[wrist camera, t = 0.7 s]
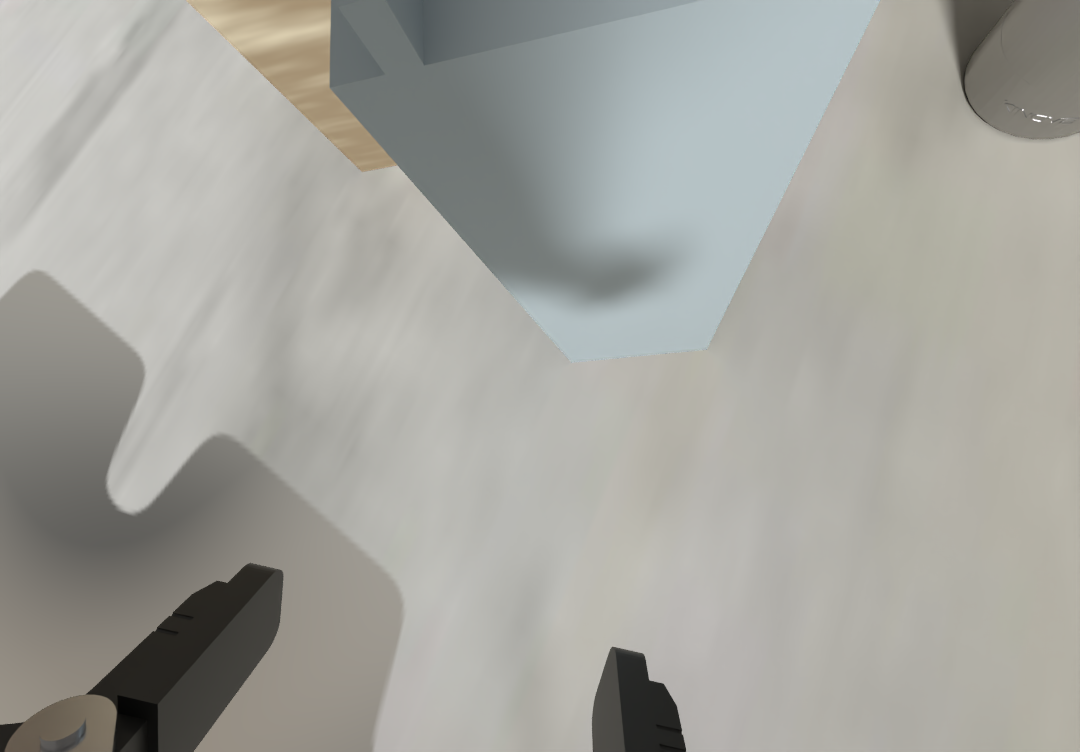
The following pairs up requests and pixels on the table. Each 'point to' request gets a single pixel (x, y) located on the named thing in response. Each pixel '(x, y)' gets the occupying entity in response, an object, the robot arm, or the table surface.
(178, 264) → the table surface
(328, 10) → the birch stand
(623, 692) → the robot arm
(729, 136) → the slate pedestal
